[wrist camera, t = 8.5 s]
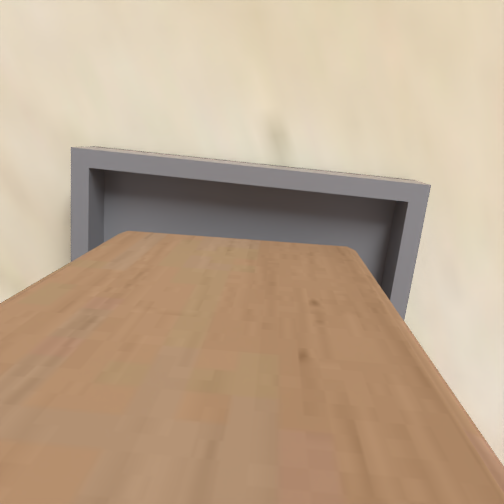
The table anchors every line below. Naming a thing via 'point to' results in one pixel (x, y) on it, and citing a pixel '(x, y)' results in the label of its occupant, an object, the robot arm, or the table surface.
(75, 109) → the table surface
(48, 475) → the wooden block
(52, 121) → the table surface
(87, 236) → the tray
